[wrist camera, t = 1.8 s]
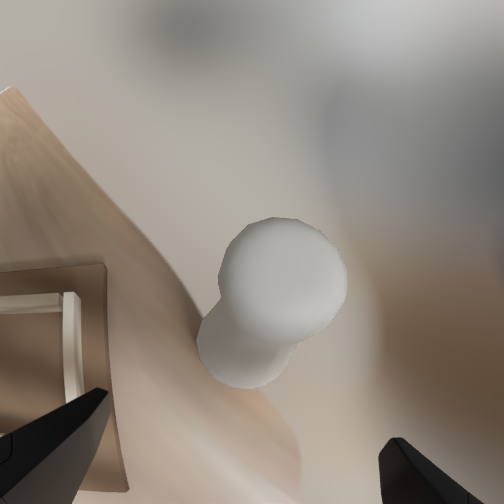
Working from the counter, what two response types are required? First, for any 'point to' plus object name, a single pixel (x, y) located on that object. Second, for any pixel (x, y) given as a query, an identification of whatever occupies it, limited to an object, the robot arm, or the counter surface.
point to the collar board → (58, 354)
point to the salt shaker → (270, 300)
